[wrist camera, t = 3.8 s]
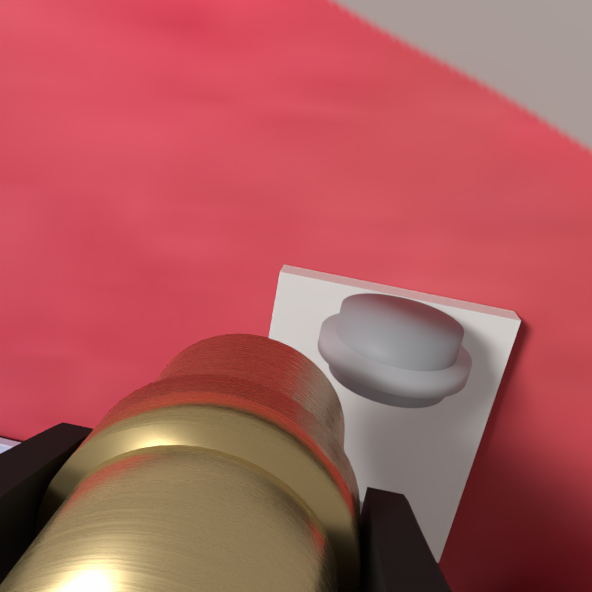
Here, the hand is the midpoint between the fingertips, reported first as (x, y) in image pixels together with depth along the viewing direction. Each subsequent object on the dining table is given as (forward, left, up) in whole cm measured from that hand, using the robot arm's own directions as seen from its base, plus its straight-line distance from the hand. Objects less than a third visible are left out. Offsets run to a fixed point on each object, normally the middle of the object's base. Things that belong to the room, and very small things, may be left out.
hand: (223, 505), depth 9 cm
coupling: (0, 0, -2) cm, 2 cm away
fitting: (-3, -3, -8) cm, 9 cm away
